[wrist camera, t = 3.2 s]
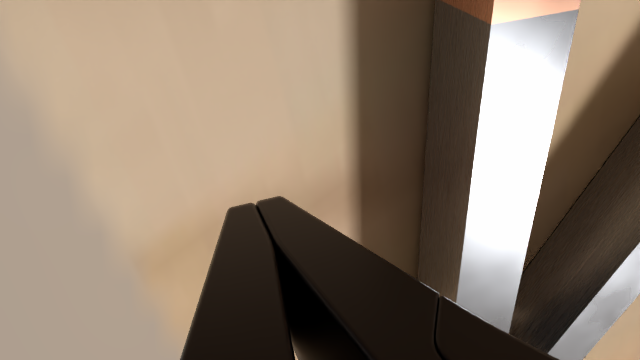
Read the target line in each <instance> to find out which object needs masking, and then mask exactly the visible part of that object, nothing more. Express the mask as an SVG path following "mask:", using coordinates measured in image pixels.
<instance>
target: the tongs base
mask: <svg viewBox="0 0 640 360" xmlns="http://www.w3.org/2000/svg"><path fill="white" fill-rule="evenodd" d="M639 294H640V117H639V118H638V120H637V121H636V122H635V124H634V125H633V126H632V128H631V129H630V130H629V132H628V133H627V134H626V136H625V137H624V138H623V140H622V141H621V142H620V144H619V145H618V146H617V148H616V149H615V150H614V152H613V153H612V154H611V156H610V157H609V158H608V160H607V161H606V163H605V164H604V165H603V167H602V168H601V169H600V171H599V172H598V173H597V175H596V176H595V177H594V179H593V180H592V181H591V183H590V184H589V185H588V187H587V188H586V189H585V191H584V192H583V193H582V195H581V196H580V197H579V199H578V200H577V201H576V203H575V204H574V206H573V207H572V208H571V210H570V211H569V212H568V214H567V215H566V216H565V218H564V219H563V220H562V222H561V223H560V224H559V226H558V227H557V228H556V230H555V231H554V232H553V234H552V235H551V236H550V238H549V239H548V240H547V242H546V243H545V244H544V246H543V247H542V249H541V250H540V251H539V253H538V254H537V255H536V257H535V258H534V259H533V261H532V262H531V263H530V265H529V266H528V267H527V269H526V270H525V271H524V273H523V274H522V275H521V279H520V284H519V288H518V293H517V297H516V302H515V307H514V311H513V316H512V321H511V325H510V330H509V334H510V335H512V336H514V337H516V338H518V339H520V340H522V341H524V342H526V343H528V344H529V345H531V346H533V347H535V348H537V349H539V350H541V351H543V352H545V353H547V354H549V355H551V356H553V357H555V358H557V359H559V360H583V358H584V357H585V356H586V355H587V354H588V353H589V352H590V350H591V349H592V348H593V347H594V346H595V345H596V343H597V342H598V341H599V340H600V339H601V338H602V337H603V335H604V334H605V333H606V332H607V331H608V330H609V329H610V327H611V326H612V325H613V324H614V323H615V322H616V320H617V319H618V318H619V317H620V316H621V315H622V314H623V312H624V311H625V310H626V309H627V308H628V307H629V306H630V304H631V303H632V302H633V301H634V300H635V299H636V297H637V296H638V295H639Z"/></svg>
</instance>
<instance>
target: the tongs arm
mask: <svg viewBox="0 0 640 360" xmlns="http://www.w3.org/2000/svg"><path fill="white" fill-rule="evenodd" d="M580 2H581V0H435V12H434V28H433V44H432V59H431V75H430V91H429V106H428V122H427V138H426V153H425V169H424V185H423V200H422V216H421V232H420V248H419V263H418V279H417V280H418V281H420V282H422V283H423V284H425V285H427V286H428V287H430V288H431V289H433V290H435V291H436V292H438V293H439V298H440V296H445V297H446V298H448V299H450V300H451V301H453V302H455V303H456V304H458V305H459V306H461V307H463V308H464V309H466V310H468V311H469V312H471V313H473V314H475V315H476V316H478V317H480V318H482V319H483V320H485V321H487V322H488V323H490V324H492V325H494V326H495V327H497V328H499V329H501V330H503V331H504V332H506V333H508V334H509V330H510V325H511V321H512V316H513V311H514V307H515V302H516V297H517V293H518V288H519V284H520V279H521V274H522V270H523V265H524V260H525V256H526V251H527V247H528V242H529V237H530V233H531V228H532V223H533V219H534V214H535V210H536V205H537V200H538V196H539V191H540V186H541V182H542V177H543V173H544V168H545V163H546V159H547V154H548V149H549V145H550V140H551V136H552V131H553V126H554V122H555V117H556V112H557V108H558V103H559V99H560V94H561V89H562V85H563V80H564V76H565V71H566V66H567V62H568V57H569V52H570V48H571V43H572V39H573V34H574V29H575V25H576V20H577V15H578V11H579V6H580Z"/></svg>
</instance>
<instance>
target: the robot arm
mask: <svg viewBox="0 0 640 360" xmlns="http://www.w3.org/2000/svg"><path fill="white" fill-rule="evenodd" d="M293 348H294V350H293ZM294 351H295V353H296V355H297V358H298V360H559V359H557V358H555V357H553V356H551V355H549V354H547V353H545V352H543V351H541V350H539V349H537V348H535V347H533V346H531V345H529V344H528V343H526V342H524V341H522V340H520V339H518V338H516V337H514V336H512V335H510V334H508V333H506V332H504V331H503V330H501V329H499V328H497V327H495V326H494V325H492V324H490V323H488V322H487V321H485V320H483V319H482V318H480V317H478V316H476V315H475V314H473V313H471V312H469V311H468V310H466V309H464V308H463V307H461V306H459V305H458V304H456V303H455V302H453V301H451V300H450V299H448V298H446V297H445V296H440V298H439V293H438V292H436V291H435V290H433V289H431V288H430V287H428V286H427V285H425V284H423V283H422V282H420V281H418V280H417V279H415V278H414V277H412V276H410V275H409V274H407V273H405V272H404V271H402V270H401V269H399V268H397V267H396V266H394V265H392V264H391V263H389V262H388V261H386V260H384V259H383V258H381V257H379V256H378V255H376V254H375V253H373V252H371V251H370V250H368V249H366V248H365V247H363V246H362V245H360V244H358V243H357V242H355V241H353V240H352V239H350V238H349V237H347V236H345V235H344V234H342V233H340V232H339V231H337V230H336V229H334V228H332V227H331V226H329V225H328V224H326V223H324V222H323V221H321V220H319V219H318V218H316V217H315V216H313V215H311V214H310V213H308V212H306V211H305V210H303V209H302V208H300V207H298V206H297V205H295V204H293V203H292V202H290V201H289V200H287V199H285V198H284V197H281V196H277V197H273V198H269V199H264V200H260V201H258V202H257V203H256V205H255V204H253V203H248V204H243V205H239V206H235V207H231V208H229V209H228V211H227V213H226V217H225V220H224V223H223V226H222V229H221V232H220V236H219V239H218V242H217V245H216V248H215V251H214V254H213V258H212V261H211V264H210V267H209V270H208V273H207V277H206V280H205V283H204V286H203V289H202V292H201V295H200V299H199V302H198V305H197V308H196V311H195V314H194V317H193V321H192V324H191V327H190V330H189V333H188V336H187V340H186V343H185V346H184V349H183V352H182V355H181V358H180V360H295V355H294Z"/></svg>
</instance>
